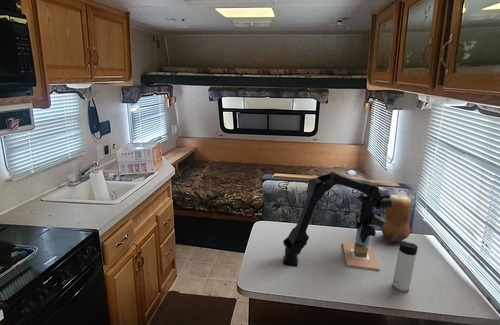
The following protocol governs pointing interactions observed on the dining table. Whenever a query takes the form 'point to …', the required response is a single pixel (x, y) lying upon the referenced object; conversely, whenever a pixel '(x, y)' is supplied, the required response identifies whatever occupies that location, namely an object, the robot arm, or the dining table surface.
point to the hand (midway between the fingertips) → (362, 240)
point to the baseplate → (360, 258)
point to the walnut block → (360, 250)
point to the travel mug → (404, 266)
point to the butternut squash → (397, 219)
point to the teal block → (360, 239)
